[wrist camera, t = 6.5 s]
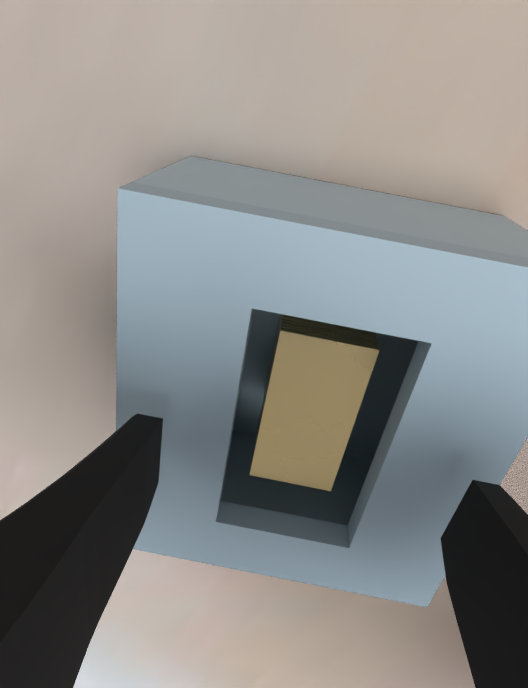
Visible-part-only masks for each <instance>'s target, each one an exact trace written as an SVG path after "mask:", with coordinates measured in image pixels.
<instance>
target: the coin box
mask: <svg viewBox="0 0 528 688" xmlns="http://www.w3.org/2000/svg"><path fill="white" fill-rule="evenodd" d="M280 314H283V315H288V316H293V317H298V318H304V319H309V320H314V321H319V322H324V323H329V324H334V325H340V326H345V327H350V328H355V329H360V330H365V331H370V332H375V335H376V339H377V343H378V346H379V353H378V356H377V359H376V362H375V365H374V368H373V371H372V373H371V376H370V379H369V382H368V385H367V388H366V391H365V394H364V397H363V399H362V402H361V405H360V408H359V411H358V414H357V417H356V420H355V423H354V426H353V428H352V431H351V434H350V437H349V440H348V443H347V446H346V449H345V452H344V455H343V457H342V460H341V463H340V466H339V469H338V472H337V475H336V478H335V481H334V484H333V486H332V489H331V491H327V490H322V489H317V488H312V487H307V486H302V485H297V484H292V483H287V482H282V481H277V480H272V479H267V478H262V477H257V476H252V475H250V469H251V464H252V458H253V452H254V446H255V441H256V435H257V429H258V423H259V418H260V412H261V406H262V400H263V395H264V389H265V384H266V380H267V375H268V370H269V365H270V360H271V356H272V351H273V346H274V341H275V337H276V332H277V327H278V322H279V317H280ZM137 413H138V414H143V415H148V416H153V417H158V418H163V427H162V441H161V456H160V470H159V483H158V486H157V489H156V492H155V495H154V498H153V501H152V504H151V506H150V509H149V512H148V515H147V518H146V521H145V524H144V526H143V528H142V530H141V532H140V534H139V537H138V539H137V541H136V543H135V545H134V547H133V549H135V550H140V551H146V552H151V553H156V554H161V555H166V556H171V557H176V558H181V559H186V560H191V561H196V562H201V563H206V564H211V565H216V566H221V567H226V568H231V569H236V570H241V571H246V572H251V573H256V574H261V575H266V576H271V577H277V578H282V579H287V580H292V581H297V582H302V583H307V584H312V585H317V586H322V587H327V588H332V589H337V590H342V591H347V592H352V593H357V594H362V595H367V596H372V597H377V598H382V599H387V600H392V601H397V602H402V603H408V604H413V605H418V606H423V607H427V606H428V604H429V602H430V601H431V599H432V597H433V596H434V594H435V592H436V591H437V589H438V587H439V586H440V584H441V582H442V581H443V579H444V577H445V576H446V574H445V568H444V561H443V554H442V546H441V536H442V535H443V533H444V531H445V529H446V527H447V525H448V524H449V522H450V520H451V518H452V516H453V514H454V513H455V511H456V509H457V507H458V505H459V504H460V502H461V500H462V498H463V496H464V494H465V493H466V491H467V489H468V487H469V485H470V483H471V482H472V480H477V481H482V482H487V483H492V484H497V485H500V483H501V481H502V479H503V478H504V476H505V474H506V473H507V471H508V469H509V468H510V466H511V464H512V463H513V461H514V459H515V458H516V456H517V454H518V452H519V451H520V449H521V447H522V446H523V444H524V442H525V441H526V439H527V437H528V230H526V229H525V228H523V227H521V226H520V225H518V224H516V223H515V222H513V221H512V220H510V219H508V218H507V217H505V216H501V215H496V214H491V213H486V212H480V211H475V210H470V209H465V208H460V207H454V206H449V205H444V204H439V203H434V202H428V201H423V200H418V199H413V198H408V197H402V196H397V195H392V194H387V193H382V192H376V191H371V190H366V189H361V188H356V187H350V186H345V185H340V184H335V183H330V182H324V181H319V180H314V179H309V178H304V177H298V176H293V175H288V174H283V173H278V172H272V171H267V170H262V169H257V168H251V167H246V166H241V165H236V164H231V163H225V162H220V161H215V160H210V159H205V158H199V157H194V156H190V157H187V158H185V159H183V160H181V161H178V162H176V163H174V164H172V165H169V166H167V167H165V168H162V169H160V170H158V171H156V172H153V173H151V174H149V175H147V176H144V177H142V178H140V179H138V180H135V181H133V182H131V183H129V184H126V185H124V186H122V187H120V188H118V207H117V400H116V431H117V430H118V429H119V428H120V427H121V426H122V425H123V424H125V423H126V422H127V421H128V420H129V419H130V418H131V417H132V416H134V415H135V414H137Z"/></svg>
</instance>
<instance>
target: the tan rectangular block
mask: <svg viewBox="0 0 528 688" xmlns="http://www.w3.org/2000/svg"><path fill="white" fill-rule="evenodd" d="M378 353H379V346H378V343H377V339H376V335H375V332H370V331H365V330H360V329H355V328H350V327H345V326H340V325H334V324H329V323H324V322H319V321H314V320H309V319H304V318H298V317H293V316H288V315H283V314H280V317H279V322H278V327H277V332H276V337H275V341H274V346H273V351H272V356H271V360H270V365H269V370H268V375H267V380H266V384H265V389H264V395H263V400H262V406H261V412H260V418H259V423H258V429H257V435H256V441H255V446H254V452H253V458H252V464H251V469H250V475H252V476H257V477H262V478H267V479H272V480H277V481H282V482H287V483H292V484H297V485H302V486H307V487H312V488H317V489H322V490H327V491H331V489H332V486H333V484H334V481H335V478H336V475H337V472H338V469H339V466H340V463H341V460H342V457H343V455H344V452H345V449H346V446H347V443H348V440H349V437H350V434H351V431H352V428H353V426H354V423H355V420H356V417H357V414H358V411H359V408H360V405H361V402H362V399H363V397H364V394H365V391H366V388H367V385H368V382H369V379H370V376H371V373H372V371H373V368H374V365H375V362H376V359H377V356H378Z"/></svg>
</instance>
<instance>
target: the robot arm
mask: <svg viewBox="0 0 528 688" xmlns="http://www.w3.org/2000/svg"><path fill="white" fill-rule="evenodd" d="M162 427H163V418H158V417H153V416H148V415H143V414H138V413H137V414H135V415H134V416H132V417H131V418H130V419H129V420H128V421H127V422H126V423H125V424H123V425H122V426H121V427H120V428H119V429H118V430H117V431H116V432H115V433H113V434H112V435H111V436H110V437H109V438H108V439H107V440H105V441H104V442H103V443H102V444H101V445H100V446H98V447H97V448H96V449H95V450H94V451H93V452H91V453H90V454H89V455H88V456H87V457H85V458H84V459H83V460H82V461H80V462H79V463H78V464H77V465H75V466H74V467H73V468H72V469H71V470H69V471H68V472H67V473H66V474H64V475H63V476H62V477H60V478H59V479H58V480H56V481H55V482H54V483H52V484H51V485H50V486H48V487H47V488H46V489H44V490H43V491H41V492H40V493H39V494H37V495H36V496H35V497H33V498H32V499H31V500H29V501H28V502H27V503H25V504H24V505H22V506H21V507H19V508H18V509H16V510H15V511H13V512H12V513H11V514H9V515H8V516H6V517H5V518H3V519H2V520H0V688H73V686H74V683H75V680H76V678H77V675H78V672H79V670H80V667H81V664H82V662H83V659H84V656H85V654H86V651H87V648H88V646H89V643H90V641H91V638H92V636H93V634H94V631H95V629H96V627H97V624H98V622H99V620H100V617H101V615H102V613H103V611H104V609H105V607H106V605H107V603H108V600H109V598H110V596H111V594H112V592H113V590H114V588H115V586H116V583H117V581H118V579H119V577H120V575H121V573H122V571H123V569H124V567H125V564H126V562H127V560H128V558H129V556H130V554H131V552H132V549H133V547H134V545H135V543H136V541H137V539H138V537H139V534H140V532H141V530H142V528H143V526H144V524H145V521H146V518H147V515H148V512H149V509H150V506H151V504H152V501H153V498H154V495H155V492H156V489H157V486H158V483H159V470H160V456H161V441H162ZM441 546H442V554H443V561H444V568H445V574H446V580H447V585H448V589H449V593H450V597H451V601H452V604H453V608H454V612H455V615H456V619H457V623H458V626H459V630H460V633H461V637H462V641H463V644H464V648H465V651H466V655H467V658H468V662H469V666H470V669H471V673H472V676H473V680H474V683H475V687H476V688H528V515H527V514H526V513H525V511H524V510H523V509H522V508H521V507H520V506H519V505H518V504H517V503H516V502H515V501H514V500H513V499H512V498H511V496H510V495H509V494H508V493H507V492H506V491H505V490H504V489H503V488H502V487H501V486H500V485H497V484H492V483H487V482H482V481H477V480H472V482H471V483H470V485H469V487H468V489H467V491H466V493H465V494H464V496H463V498H462V500H461V502H460V504H459V505H458V507H457V509H456V511H455V513H454V514H453V516H452V518H451V520H450V522H449V524H448V525H447V527H446V529H445V531H444V533H443V535H442V536H441Z"/></svg>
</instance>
